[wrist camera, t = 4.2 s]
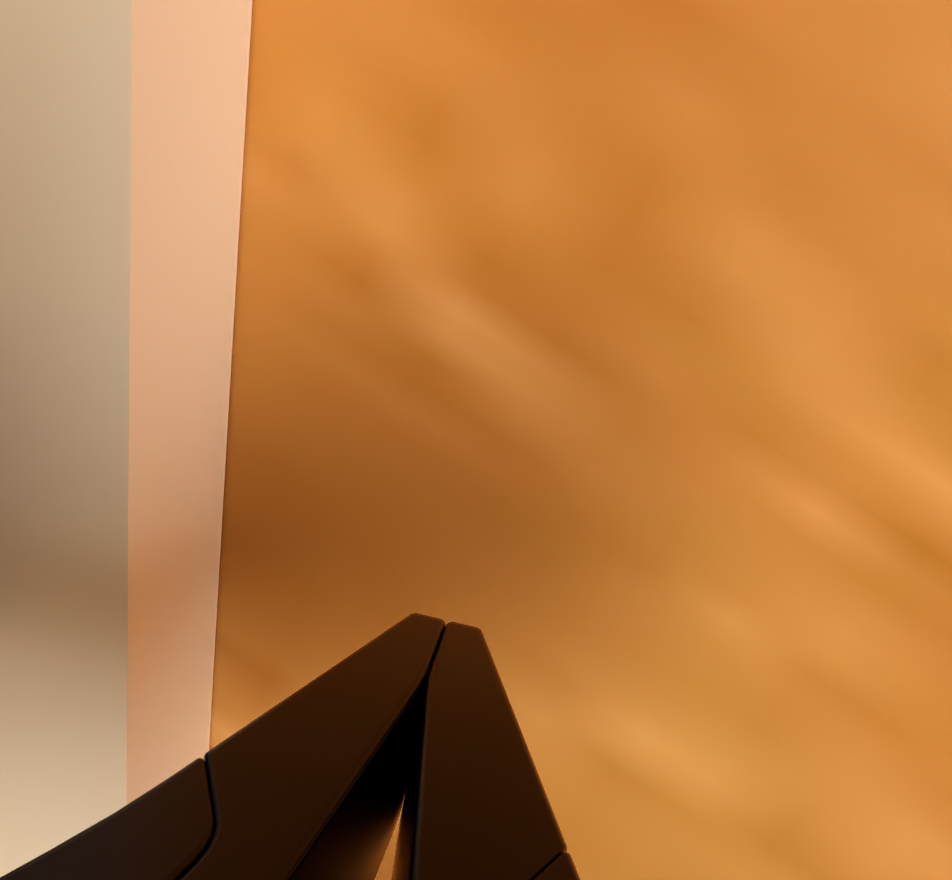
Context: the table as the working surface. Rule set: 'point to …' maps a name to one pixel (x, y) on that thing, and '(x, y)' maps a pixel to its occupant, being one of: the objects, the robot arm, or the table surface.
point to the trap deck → (112, 395)
